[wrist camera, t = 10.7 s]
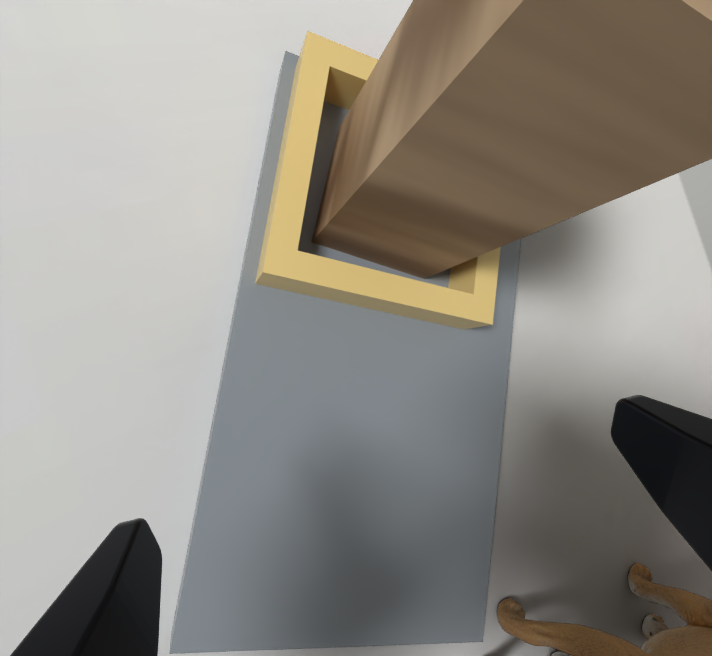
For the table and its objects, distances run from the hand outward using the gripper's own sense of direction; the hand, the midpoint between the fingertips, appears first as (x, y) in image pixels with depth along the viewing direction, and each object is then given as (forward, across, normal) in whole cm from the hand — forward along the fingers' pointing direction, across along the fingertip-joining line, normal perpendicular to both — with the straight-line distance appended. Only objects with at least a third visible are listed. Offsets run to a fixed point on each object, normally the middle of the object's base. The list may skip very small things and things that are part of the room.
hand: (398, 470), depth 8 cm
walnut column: (+12, -3, -2) cm, 13 cm away
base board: (+10, -2, +4) cm, 11 cm away
